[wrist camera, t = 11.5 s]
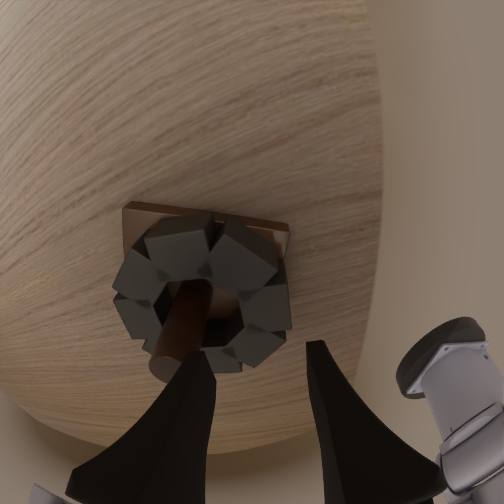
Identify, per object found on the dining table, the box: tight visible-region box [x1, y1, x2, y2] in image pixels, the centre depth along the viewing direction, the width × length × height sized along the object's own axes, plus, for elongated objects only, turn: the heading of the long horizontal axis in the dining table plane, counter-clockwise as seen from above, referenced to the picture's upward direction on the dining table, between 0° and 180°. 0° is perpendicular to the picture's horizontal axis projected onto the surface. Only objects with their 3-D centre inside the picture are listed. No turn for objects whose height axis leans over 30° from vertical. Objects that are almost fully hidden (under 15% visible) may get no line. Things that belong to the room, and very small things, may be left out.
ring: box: [112, 212, 292, 374], centre depth 15 cm, size 9×9×2 cm
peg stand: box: [122, 201, 290, 384], centre depth 14 cm, size 9×9×7 cm
